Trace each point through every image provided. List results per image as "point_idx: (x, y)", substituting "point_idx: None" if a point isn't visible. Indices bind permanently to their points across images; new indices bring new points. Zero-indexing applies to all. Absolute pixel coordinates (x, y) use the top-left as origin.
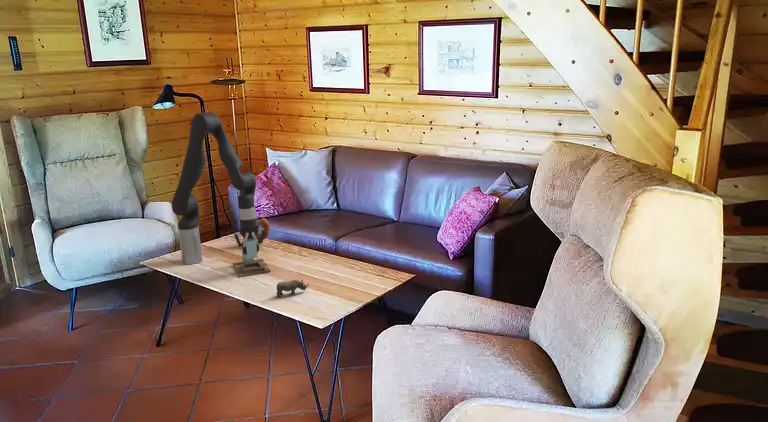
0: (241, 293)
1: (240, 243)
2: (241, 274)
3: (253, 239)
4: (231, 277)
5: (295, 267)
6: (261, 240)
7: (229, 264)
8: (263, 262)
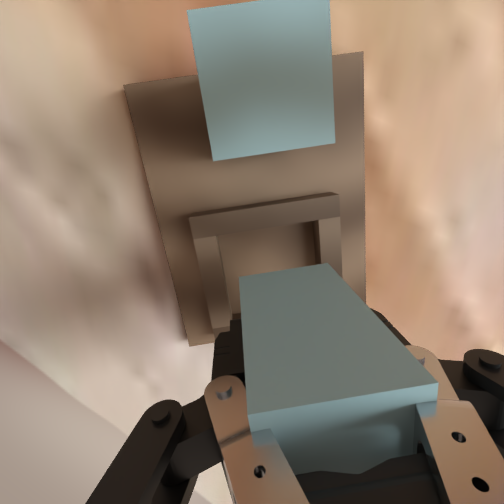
0: (208, 498)
1: (184, 499)
2: (202, 337)
3: (405, 453)
4: (146, 326)
5: (500, 278)
6: (501, 442)
7: (97, 56)
8: (354, 160)
